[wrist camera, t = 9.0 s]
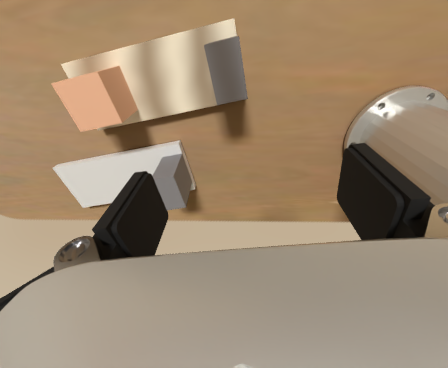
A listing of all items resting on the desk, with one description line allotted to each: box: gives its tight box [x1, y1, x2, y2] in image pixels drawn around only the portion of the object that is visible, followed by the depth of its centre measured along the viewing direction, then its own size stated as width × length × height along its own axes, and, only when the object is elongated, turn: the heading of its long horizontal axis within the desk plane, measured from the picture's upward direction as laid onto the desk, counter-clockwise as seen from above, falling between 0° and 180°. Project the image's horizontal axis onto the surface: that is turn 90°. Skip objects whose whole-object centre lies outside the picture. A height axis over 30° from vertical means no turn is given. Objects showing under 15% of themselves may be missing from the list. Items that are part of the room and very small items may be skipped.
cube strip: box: [61, 18, 248, 130], centre depth 23 cm, size 20×8×7 cm, turn 102°
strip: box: [53, 141, 196, 210], centre depth 31 cm, size 20×8×7 cm, turn 102°
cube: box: [52, 66, 138, 132], centre depth 24 cm, size 5×5×5 cm
